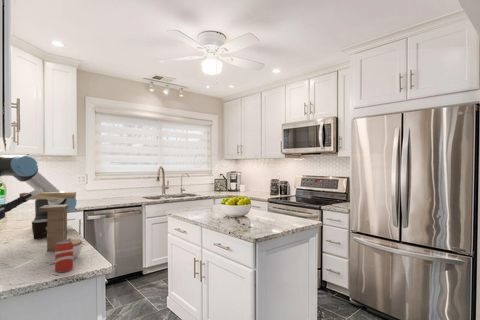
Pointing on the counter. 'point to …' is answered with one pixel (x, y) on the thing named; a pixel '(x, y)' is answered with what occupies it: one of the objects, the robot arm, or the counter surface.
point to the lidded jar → (76, 246)
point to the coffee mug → (39, 228)
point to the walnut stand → (55, 224)
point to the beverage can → (64, 256)
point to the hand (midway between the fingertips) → (40, 190)
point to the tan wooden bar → (52, 195)
